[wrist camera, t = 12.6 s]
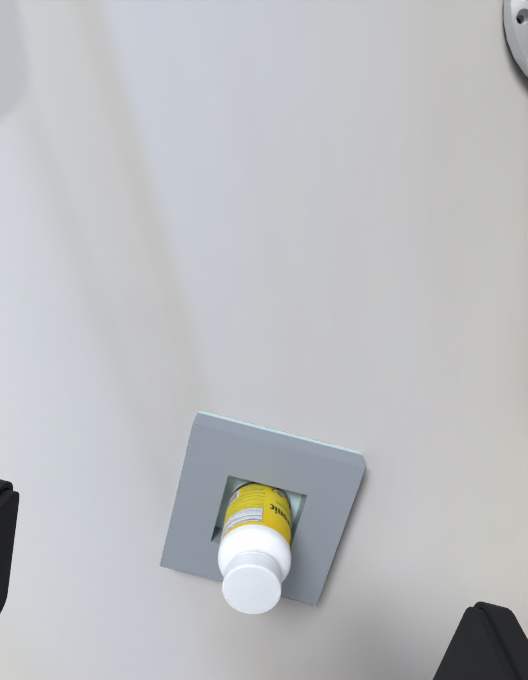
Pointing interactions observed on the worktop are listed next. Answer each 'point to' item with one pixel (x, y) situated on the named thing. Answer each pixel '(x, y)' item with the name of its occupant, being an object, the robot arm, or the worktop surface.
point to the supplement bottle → (255, 547)
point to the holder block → (269, 469)
